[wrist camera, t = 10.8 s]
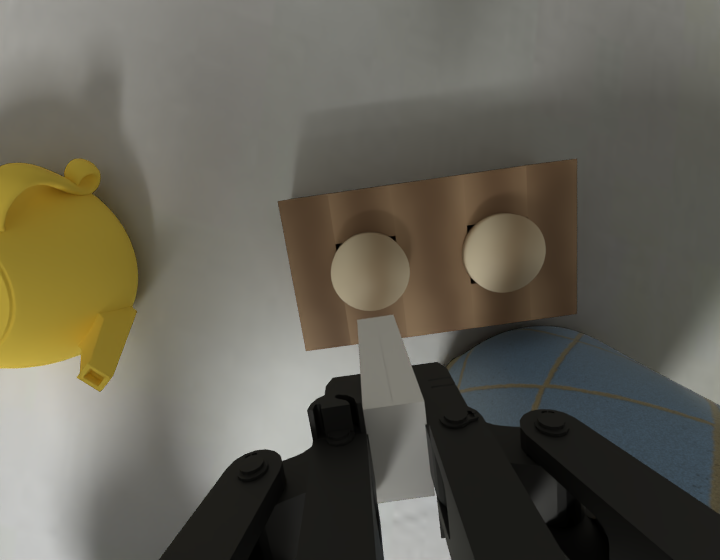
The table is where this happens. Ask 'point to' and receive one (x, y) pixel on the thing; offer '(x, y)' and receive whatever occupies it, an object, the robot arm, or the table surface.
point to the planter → (597, 400)
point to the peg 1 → (370, 271)
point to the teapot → (63, 272)
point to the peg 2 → (503, 252)
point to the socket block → (434, 250)
